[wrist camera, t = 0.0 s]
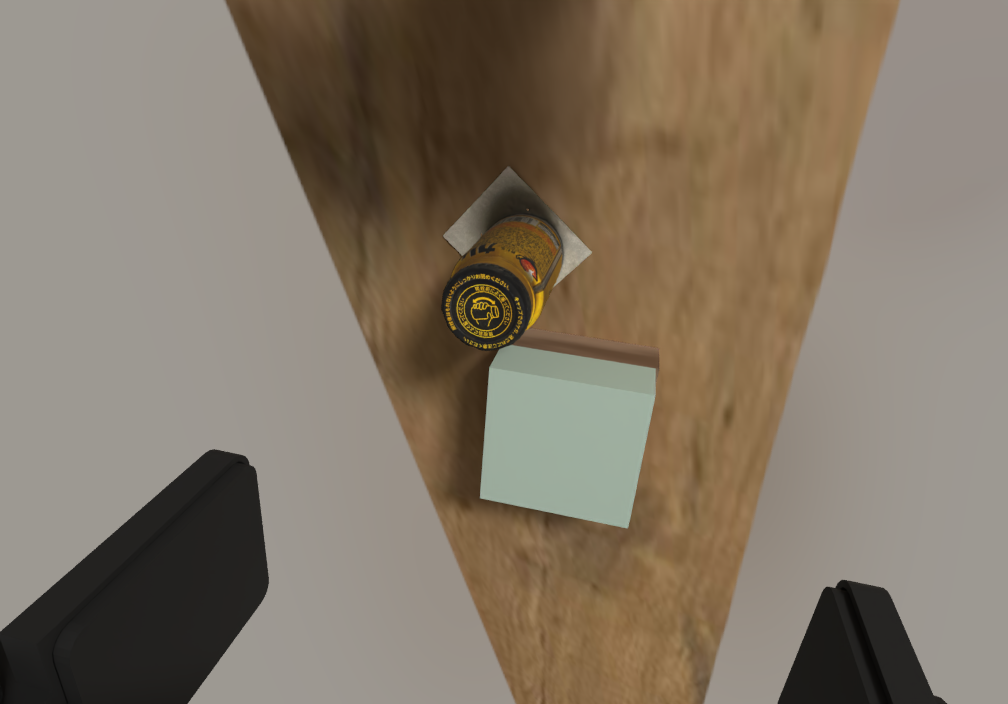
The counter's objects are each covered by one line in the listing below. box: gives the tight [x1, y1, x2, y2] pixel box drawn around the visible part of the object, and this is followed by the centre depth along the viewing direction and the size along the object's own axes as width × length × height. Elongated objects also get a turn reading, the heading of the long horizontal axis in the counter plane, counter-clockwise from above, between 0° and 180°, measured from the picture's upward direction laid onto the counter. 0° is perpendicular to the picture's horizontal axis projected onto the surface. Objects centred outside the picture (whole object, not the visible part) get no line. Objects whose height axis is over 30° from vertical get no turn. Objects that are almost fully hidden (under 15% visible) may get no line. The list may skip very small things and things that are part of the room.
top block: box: [480, 345, 656, 528], centre depth 46 cm, size 11×11×4 cm
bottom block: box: [512, 328, 659, 382], centre depth 49 cm, size 11×11×4 cm
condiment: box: [441, 166, 592, 351], centre depth 41 cm, size 7×8×12 cm
